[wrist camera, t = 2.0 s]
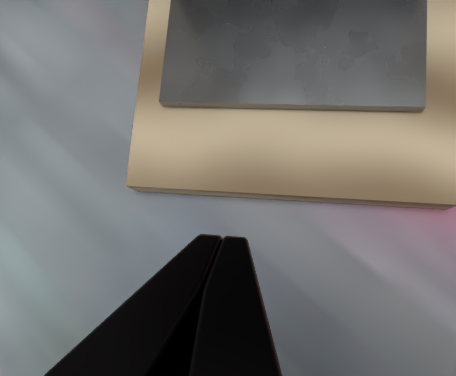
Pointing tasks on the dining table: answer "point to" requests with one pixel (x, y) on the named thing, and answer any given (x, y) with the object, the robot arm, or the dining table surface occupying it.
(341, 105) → the bookend
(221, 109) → the book shelf
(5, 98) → the dining table surface
